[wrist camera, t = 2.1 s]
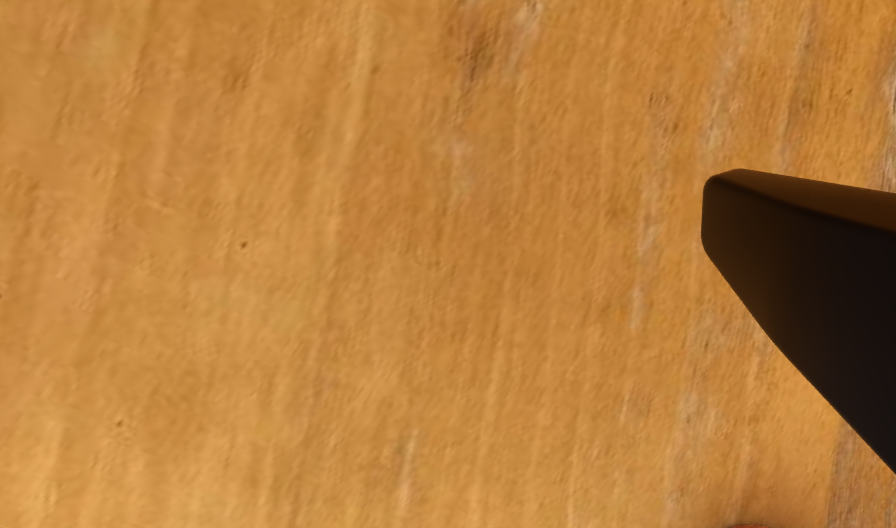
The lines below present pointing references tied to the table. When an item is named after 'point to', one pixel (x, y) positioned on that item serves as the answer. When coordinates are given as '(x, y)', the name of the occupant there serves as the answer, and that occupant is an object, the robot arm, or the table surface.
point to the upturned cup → (749, 526)
